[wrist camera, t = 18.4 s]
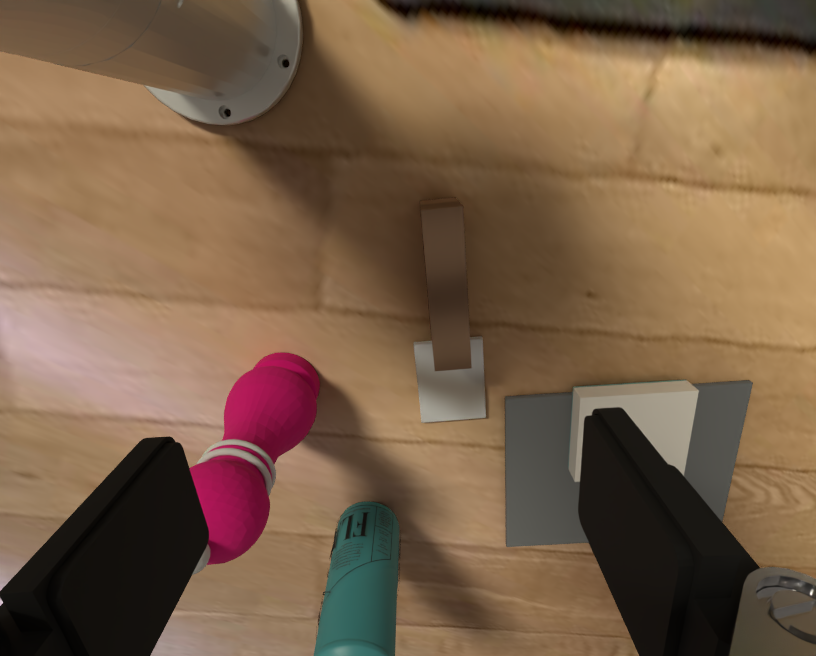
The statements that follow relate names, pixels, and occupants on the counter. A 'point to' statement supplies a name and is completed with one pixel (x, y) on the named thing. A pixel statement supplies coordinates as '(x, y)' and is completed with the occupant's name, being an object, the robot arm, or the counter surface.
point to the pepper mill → (252, 452)
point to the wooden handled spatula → (448, 322)
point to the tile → (639, 416)
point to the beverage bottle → (361, 585)
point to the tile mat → (558, 493)
